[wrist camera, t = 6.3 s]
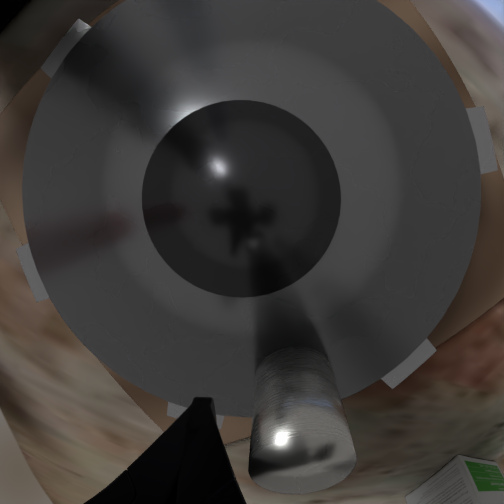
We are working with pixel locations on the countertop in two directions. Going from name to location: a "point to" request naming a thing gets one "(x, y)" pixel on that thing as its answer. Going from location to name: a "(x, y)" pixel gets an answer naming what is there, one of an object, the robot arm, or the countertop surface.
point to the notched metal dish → (254, 210)
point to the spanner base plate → (454, 320)
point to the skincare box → (462, 484)
